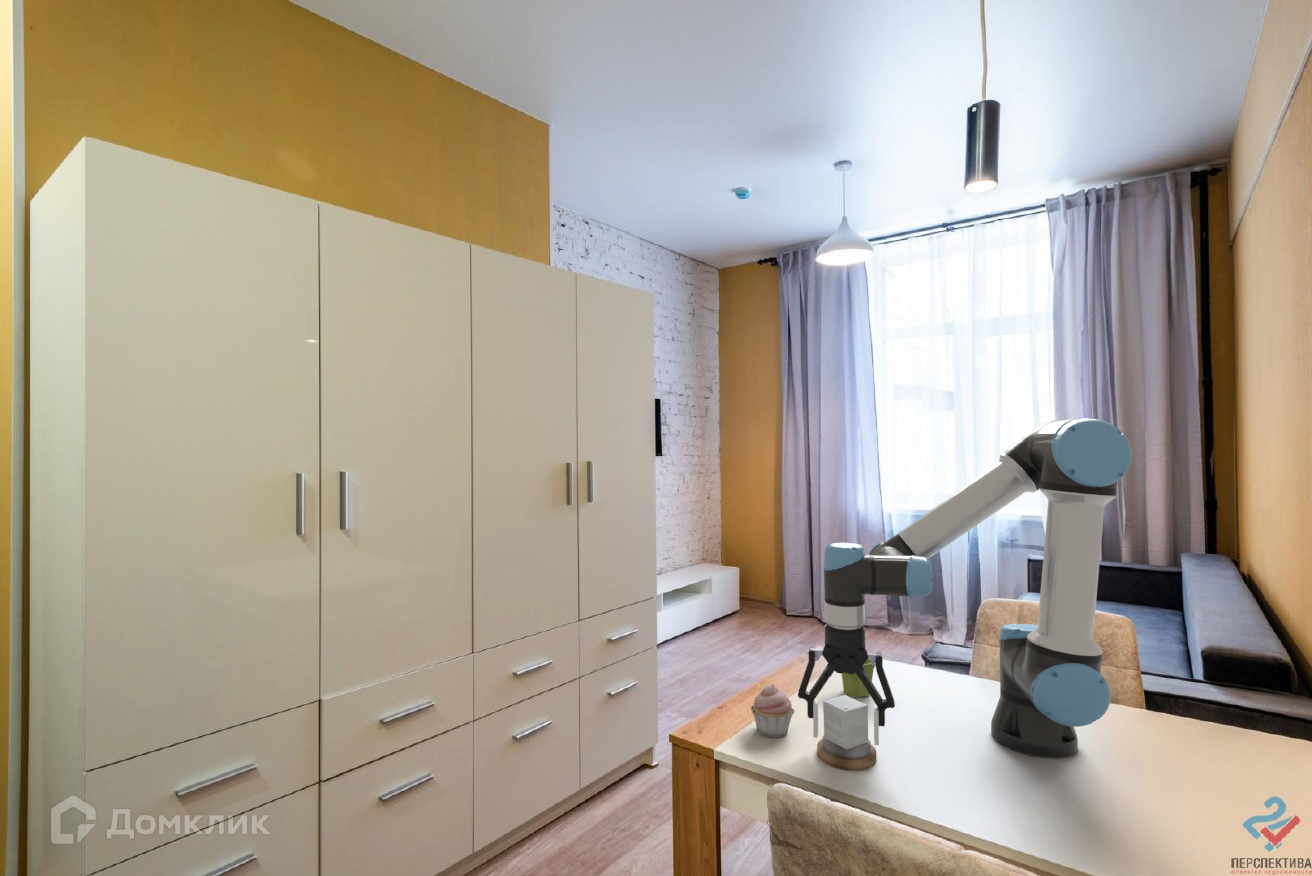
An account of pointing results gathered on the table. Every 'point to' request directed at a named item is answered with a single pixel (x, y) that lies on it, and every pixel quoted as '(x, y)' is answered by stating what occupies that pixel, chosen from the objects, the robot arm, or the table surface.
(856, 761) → the pedestal
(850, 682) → the plant pot
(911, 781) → the table surface
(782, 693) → the cupcake
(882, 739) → the table surface
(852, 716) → the product box
